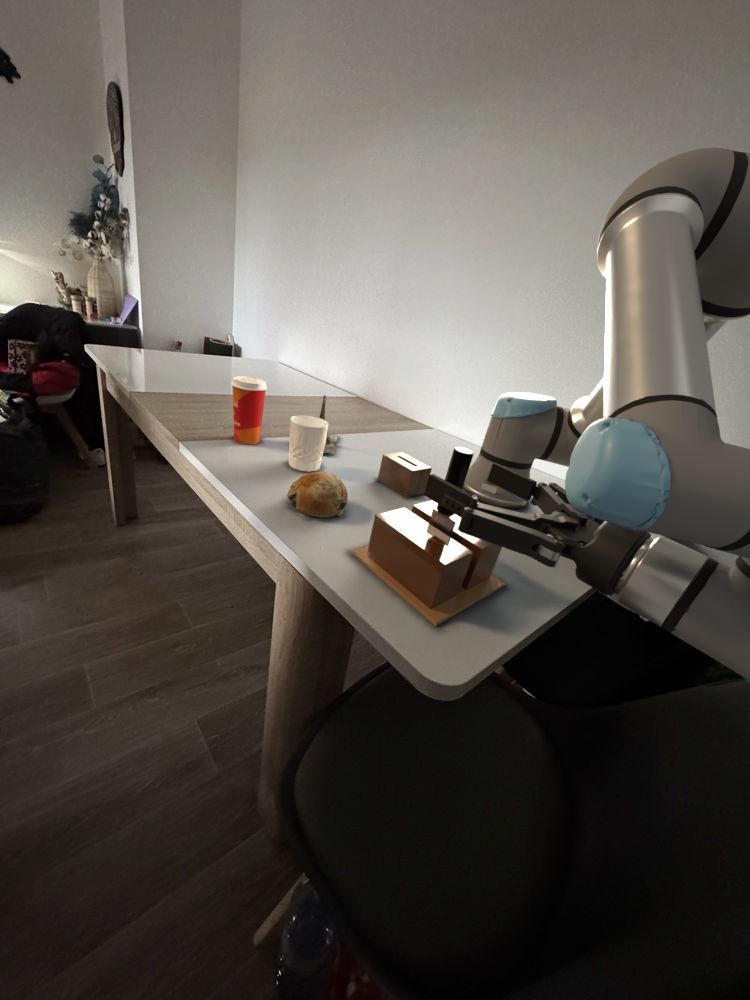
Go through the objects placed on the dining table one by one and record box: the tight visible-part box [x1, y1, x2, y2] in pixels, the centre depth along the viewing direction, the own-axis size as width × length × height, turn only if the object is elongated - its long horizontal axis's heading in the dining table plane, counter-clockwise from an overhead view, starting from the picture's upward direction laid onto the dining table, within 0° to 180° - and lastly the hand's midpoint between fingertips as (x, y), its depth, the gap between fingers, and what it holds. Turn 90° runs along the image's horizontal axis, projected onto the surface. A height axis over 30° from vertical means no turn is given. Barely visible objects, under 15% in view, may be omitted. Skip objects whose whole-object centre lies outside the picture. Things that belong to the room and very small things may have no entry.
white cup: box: [288, 414, 330, 473], centre depth 83 cm, size 8×8×10 cm
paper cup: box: [230, 375, 268, 445], centre depth 89 cm, size 8×8×14 cm
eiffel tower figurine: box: [318, 391, 338, 455], centre depth 96 cm, size 15×10×13 cm
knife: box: [429, 446, 475, 537], centre depth 54 cm, size 4×3×19 cm, turn 41°
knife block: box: [377, 451, 433, 499], centre depth 84 cm, size 9×6×6 cm, turn 41°
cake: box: [351, 499, 505, 627], centre depth 57 cm, size 17×16×8 cm
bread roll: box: [286, 471, 349, 519], centre depth 69 cm, size 10×10×8 cm
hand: (462, 477), depth 51 cm, fingers open, 13 cm apart
